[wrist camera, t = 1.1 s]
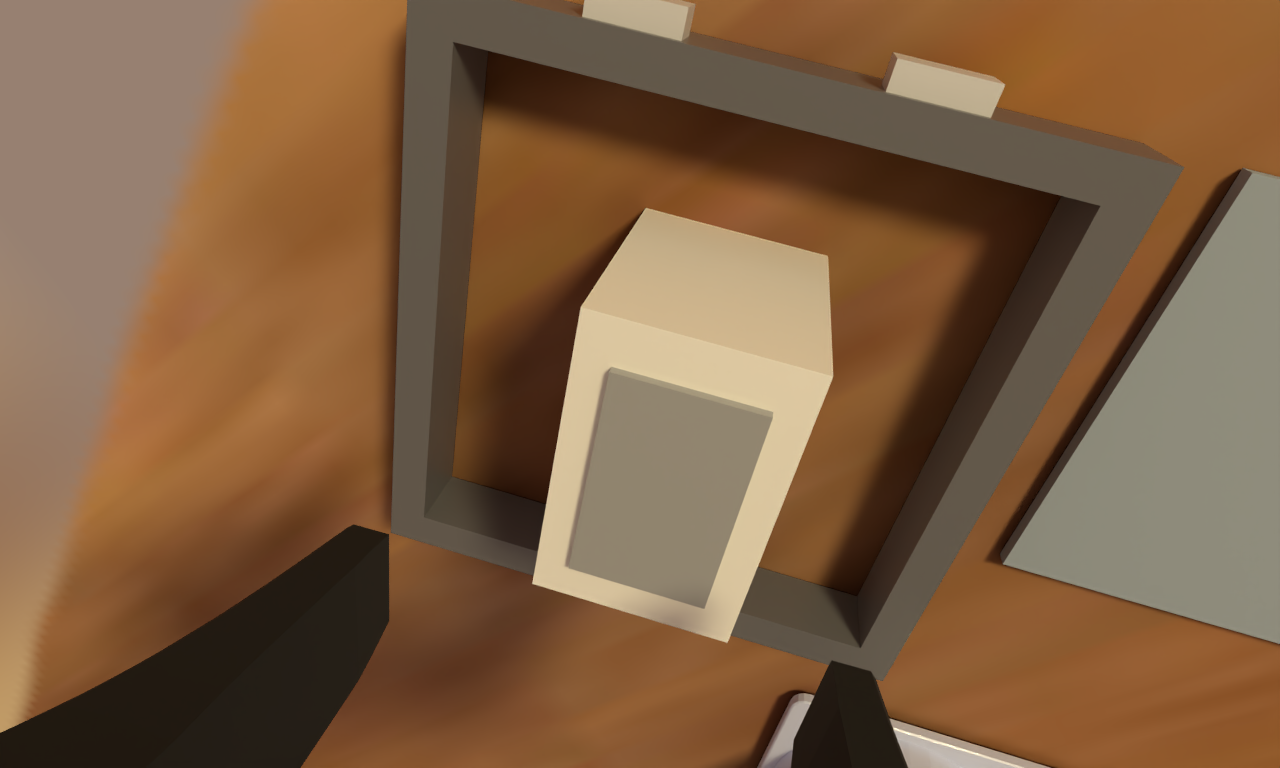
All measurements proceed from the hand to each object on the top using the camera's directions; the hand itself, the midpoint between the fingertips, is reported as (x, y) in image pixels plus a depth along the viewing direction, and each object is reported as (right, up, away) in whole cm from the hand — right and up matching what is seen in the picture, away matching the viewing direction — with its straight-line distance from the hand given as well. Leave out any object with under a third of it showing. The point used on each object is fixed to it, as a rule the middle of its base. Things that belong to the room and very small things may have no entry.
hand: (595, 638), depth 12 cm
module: (+2, +5, +8) cm, 10 cm away
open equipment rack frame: (+2, +5, +8) cm, 9 cm away
